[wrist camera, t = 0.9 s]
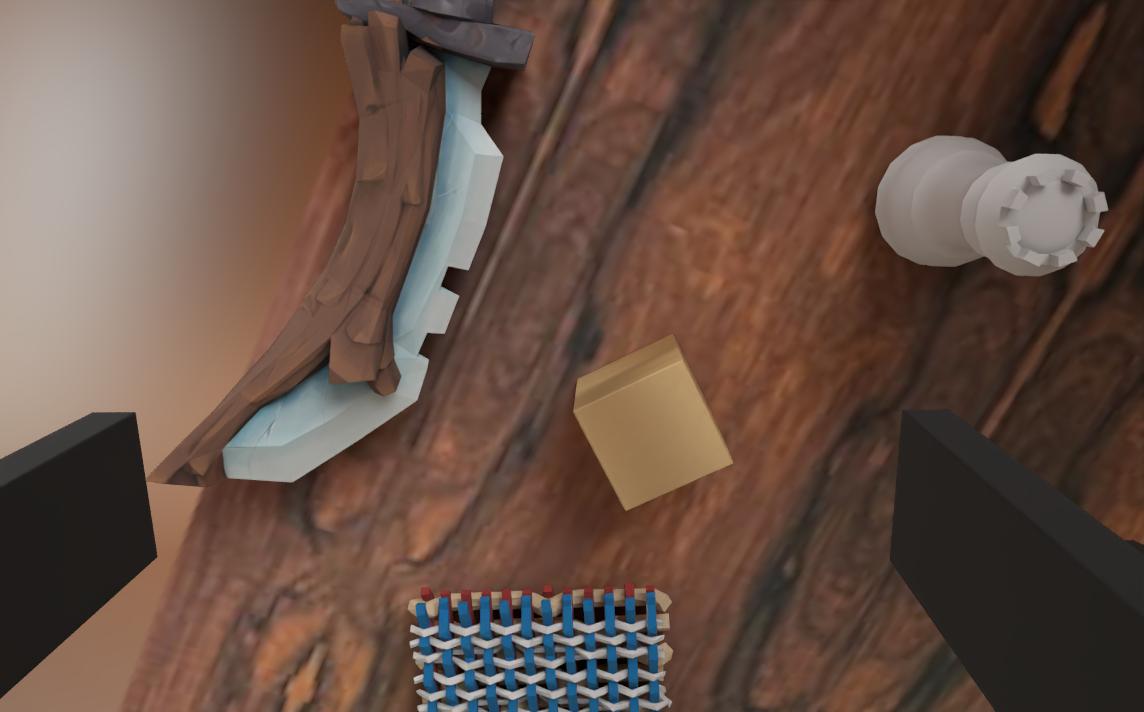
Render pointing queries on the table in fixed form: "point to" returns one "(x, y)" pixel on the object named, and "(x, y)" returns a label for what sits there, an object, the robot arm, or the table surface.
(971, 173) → the rook chess piece
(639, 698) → the woven mat
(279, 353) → the decorative knife
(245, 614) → the table surface
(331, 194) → the table surface
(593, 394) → the block
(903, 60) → the table surface
